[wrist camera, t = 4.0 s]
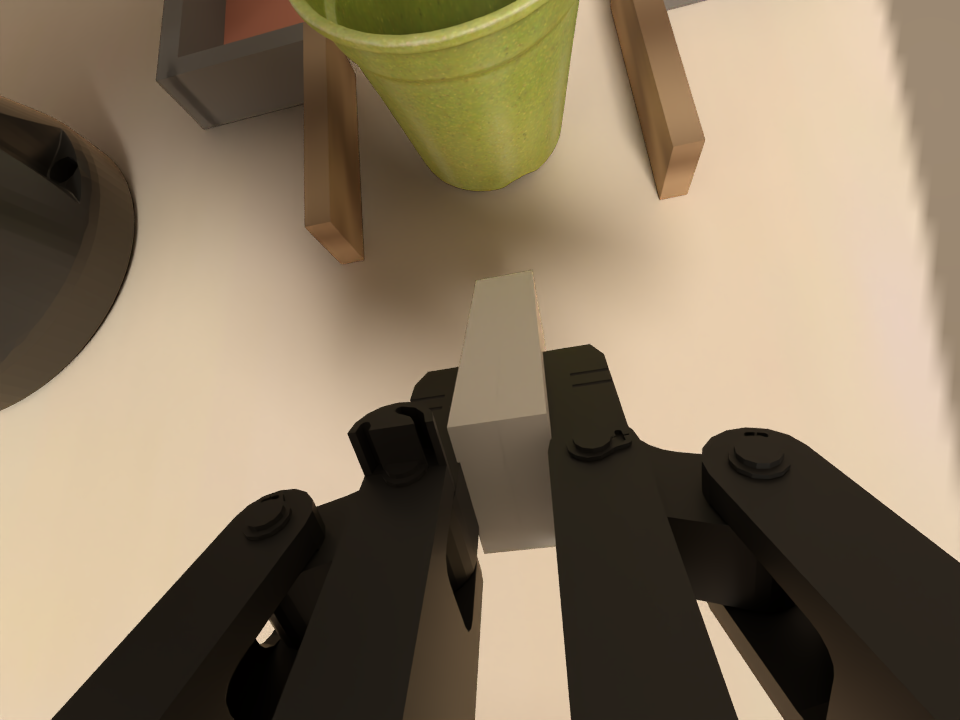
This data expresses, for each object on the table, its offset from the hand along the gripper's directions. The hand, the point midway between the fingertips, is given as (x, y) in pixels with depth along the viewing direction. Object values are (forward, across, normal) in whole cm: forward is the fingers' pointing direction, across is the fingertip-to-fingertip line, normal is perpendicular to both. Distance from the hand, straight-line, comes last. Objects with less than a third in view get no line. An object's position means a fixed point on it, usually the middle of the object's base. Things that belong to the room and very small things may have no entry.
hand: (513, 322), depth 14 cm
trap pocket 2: (+18, -10, +11) cm, 24 cm away
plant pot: (+11, 0, +4) cm, 12 cm away
